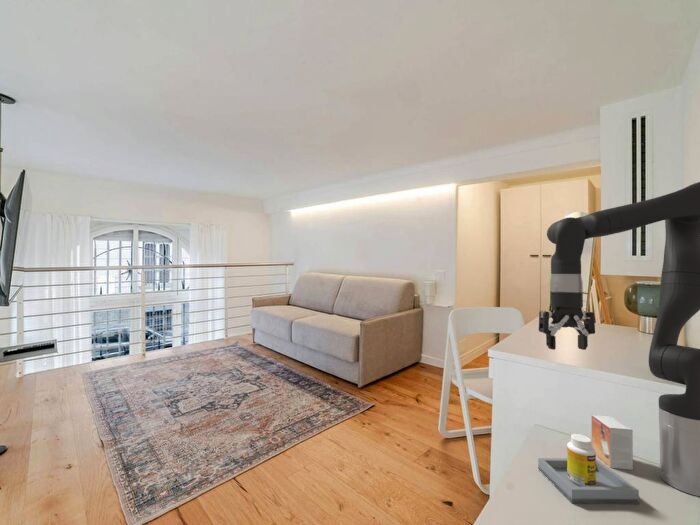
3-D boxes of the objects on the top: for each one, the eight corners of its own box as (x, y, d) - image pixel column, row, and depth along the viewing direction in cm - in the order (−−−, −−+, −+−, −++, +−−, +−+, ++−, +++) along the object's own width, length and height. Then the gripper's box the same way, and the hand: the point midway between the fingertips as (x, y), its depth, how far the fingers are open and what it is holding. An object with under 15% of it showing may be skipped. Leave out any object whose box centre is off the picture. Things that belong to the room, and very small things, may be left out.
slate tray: (595, 470, 82) (595, 458, 82) (638, 503, 70) (638, 489, 70) (538, 469, 81) (538, 458, 82) (571, 503, 69) (571, 489, 70)
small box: (591, 451, 91) (590, 414, 91) (612, 453, 90) (612, 415, 90) (610, 468, 83) (609, 427, 83) (633, 470, 82) (633, 429, 82)
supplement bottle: (590, 492, 72) (589, 446, 72) (563, 478, 76) (562, 435, 77) (600, 483, 75) (599, 439, 75) (573, 471, 79) (573, 430, 80)
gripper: (581, 290, 92) (581, 346, 91) (532, 289, 92) (533, 345, 91) (602, 291, 84) (603, 352, 84) (549, 290, 84) (550, 352, 83)
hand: (566, 349), depth 87 cm, fingers open, 8 cm apart
